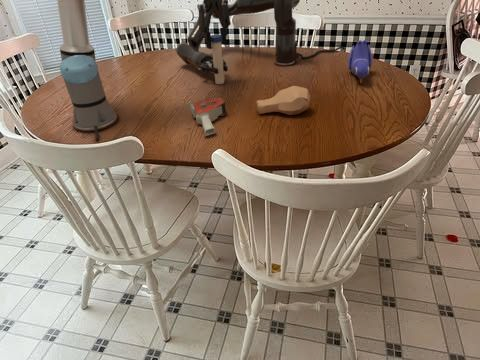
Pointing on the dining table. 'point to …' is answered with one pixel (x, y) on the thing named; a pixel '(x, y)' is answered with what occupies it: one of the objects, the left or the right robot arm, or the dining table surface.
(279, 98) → the squash
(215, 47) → the cream plastic cylinder
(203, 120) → the tape dispenser
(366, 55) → the toy
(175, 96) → the dining table surface
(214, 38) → the lid
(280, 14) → the right robot arm
